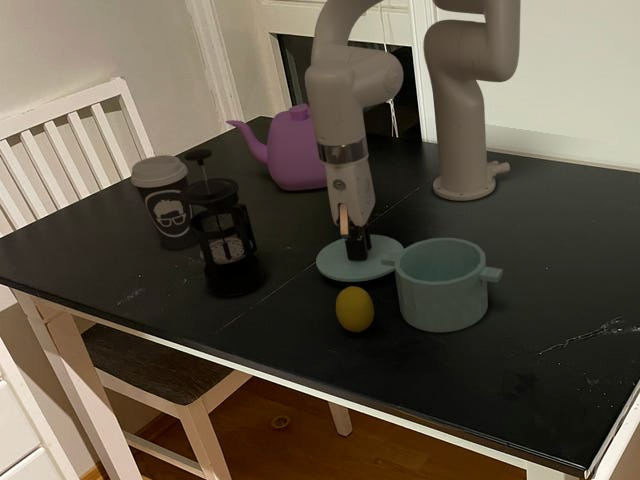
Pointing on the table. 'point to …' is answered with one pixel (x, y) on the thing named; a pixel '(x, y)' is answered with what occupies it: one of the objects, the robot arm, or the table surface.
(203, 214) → the french press
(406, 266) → the pot
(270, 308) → the table surface
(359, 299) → the lemon
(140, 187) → the coffee cup
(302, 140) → the teapot
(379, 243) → the lid
